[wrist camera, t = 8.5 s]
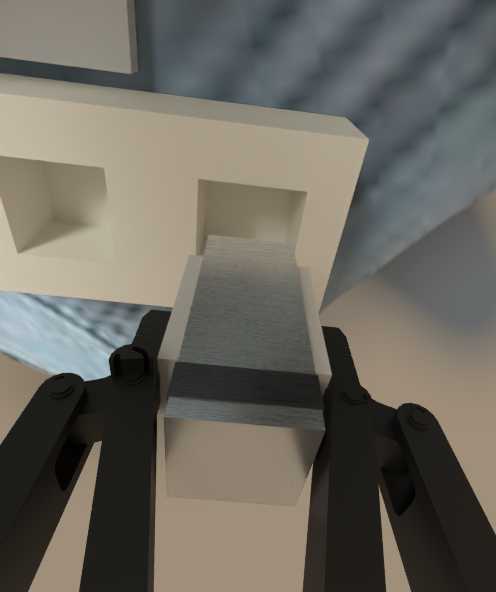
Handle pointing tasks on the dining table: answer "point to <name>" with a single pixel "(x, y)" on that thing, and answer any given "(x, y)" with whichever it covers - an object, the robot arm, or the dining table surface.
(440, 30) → the dining table surface
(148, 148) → the port box
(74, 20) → the beige flat square plate
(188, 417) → the plug
